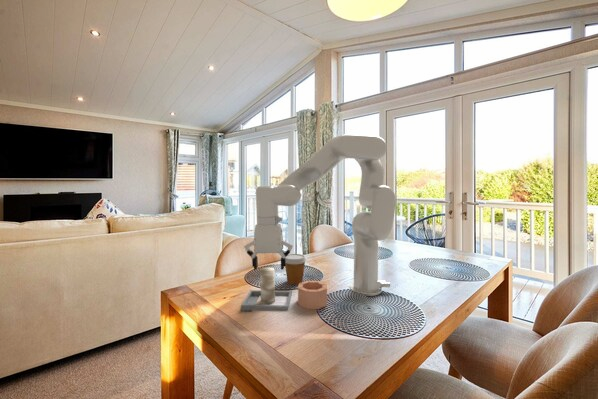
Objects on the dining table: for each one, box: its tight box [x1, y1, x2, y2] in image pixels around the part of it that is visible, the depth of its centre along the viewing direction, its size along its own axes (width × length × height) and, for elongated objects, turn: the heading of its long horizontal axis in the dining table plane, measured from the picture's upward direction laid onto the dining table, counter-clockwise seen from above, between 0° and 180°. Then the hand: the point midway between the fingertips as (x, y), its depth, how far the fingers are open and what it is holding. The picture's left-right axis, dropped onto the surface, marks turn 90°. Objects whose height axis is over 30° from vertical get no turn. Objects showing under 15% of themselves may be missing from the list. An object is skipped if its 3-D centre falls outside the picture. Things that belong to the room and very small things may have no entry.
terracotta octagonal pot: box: [297, 280, 328, 310], centre depth 101 cm, size 10×10×7 cm
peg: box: [260, 266, 276, 305], centre depth 102 cm, size 5×5×12 cm
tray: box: [240, 289, 293, 313], centre depth 102 cm, size 16×13×2 cm
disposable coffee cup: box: [284, 253, 307, 286], centre depth 121 cm, size 10×10×12 cm
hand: (269, 268), depth 101 cm, fingers open, 9 cm apart
